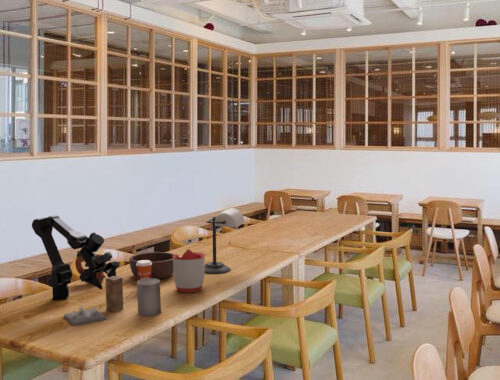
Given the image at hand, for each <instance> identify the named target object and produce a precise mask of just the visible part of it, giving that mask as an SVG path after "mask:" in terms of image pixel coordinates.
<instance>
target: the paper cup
mask: <svg viewBox="0 0 500 380" xmlns="http://www.w3.org/2000/svg"><path fill="white" fill-rule="evenodd" d="M136 265H137V276H138V278H137V281H138V280H141V279H146V278H151V265H152V262H151V261H149V260H140V261H137V264H136Z"/></svg>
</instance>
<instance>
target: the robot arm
mask: <svg viewBox="0 0 500 380" xmlns="http://www.w3.org/2000/svg"><path fill="white" fill-rule="evenodd" d="M31 228H32V230H33V232H34V234H35V235H36V236H38V237H39V238H40V239H41V242H42V244H43V246H44V249H45V252H46V254H47V257H48V259H49V261H50V263H51V267H52V268H51V272H50V274H51V277H50V279H49V280H48V285H49V286H48V287H52V289H51V290H52V298H51V300H53V301H54V300H59V301H60V300H67V299H68V298H69V296H70V286H68V285H69V284H71V282H72V279H73V270H72V269H71V266H70V264H69V263H65V262H64V261H63V258H62V256H61V253H60V251H59V249H58V246H57V243H56V241H55V239H54V237H53V234H52V233H53V229H54V230H55V231H57V233H59V234H60V235H61V236H62V237H64V238H65V239H66V241H67V244H68V246H69V247H70V248H71V249H73V250H77V251H76V252H77V253H76V258H77V257H82V259H83V260H84V261H83V263H85V264H84V266H85V268H84V271H83V272H82V273H81V275H80V274H79V280H80V281H81V282H82V283H87V284H90V285H92V286H94V287H96V288H97V289H100V290H103V288H104V287H103V285H102V282H101V283H100V282H99V280H98V279H97V277H96V274H98V273H101V272H103V273H105V275H106V277H107V278H109V277H112V276H117V269H118V267H119V264H118V263H119V262H117V261H116V260H114V261H112V259H113V255H112V253H111V252H110V251H107V252H104V254H101V256H99V254H98V256H97V255H96V254H97V252H98V251H99V249H100V248H101V247H102V245H104V242H105V239H104V237H103V236H102V235H99V234H97V233H96V232H91V233H90V235H89V236H87V235H86V234H84V233H83V232H79V231H76V230H74V229H73V228H72V227H71V226H69V224H67V223H66V222H65V221H63V220H62V219H61V218H60V217H59V216H58V215H57V214H56V215H50V216H47V217H41V218H34V219H33V220H32V222H31ZM78 249H80V250H78ZM109 261H110V262H109ZM107 262H108V263H107Z"/></svg>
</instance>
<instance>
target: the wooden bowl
mask: <svg viewBox="0 0 500 380" xmlns="http://www.w3.org/2000/svg"><path fill="white" fill-rule="evenodd" d="M174 254H175V253H171V252H167V251H166V252H165V251H162V252H161V251H151V252H140V253H136V254H133V255H131V256H130V257H129V258H128V260H129V266H130V271H131V273H132V275H133V276H134V278H136V279H138V276H137V265H136V264H137V261H140V260H149V261H151V262H152V265H151V278H155V279H159V280H163V279H168V278H171V276H174V275H173V257H172V256H173V255H174Z"/></svg>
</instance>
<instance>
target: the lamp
mask: <svg viewBox="0 0 500 380" xmlns="http://www.w3.org/2000/svg"><path fill="white" fill-rule="evenodd" d="M245 222H246V220H245V218H244V215H243V213H242V212H241V211H240V210H238V209H237V208H236V207H235V208H234V207H230V208H227V209H225V210H223V211H221V212H219V213H218V214H217V215H216V216H213V217H211V218H210V219H208V220H206V223H207V224H212V226H211V227H212V229H211V230H212V261H210V262H206V263H204V265H205V275H220V274H221V275H222V274H226V273H229V272H231V271H232V269H231V268H230V266H228V265H226V264H224V263H223V262H221V261H217V227H223V228H224V227H225V228H229V232H231V228H238V227H240V226H241V225H242V224H244V223H245ZM231 243H232V242H231V241H228V244H229V245H230V244H231Z"/></svg>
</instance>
